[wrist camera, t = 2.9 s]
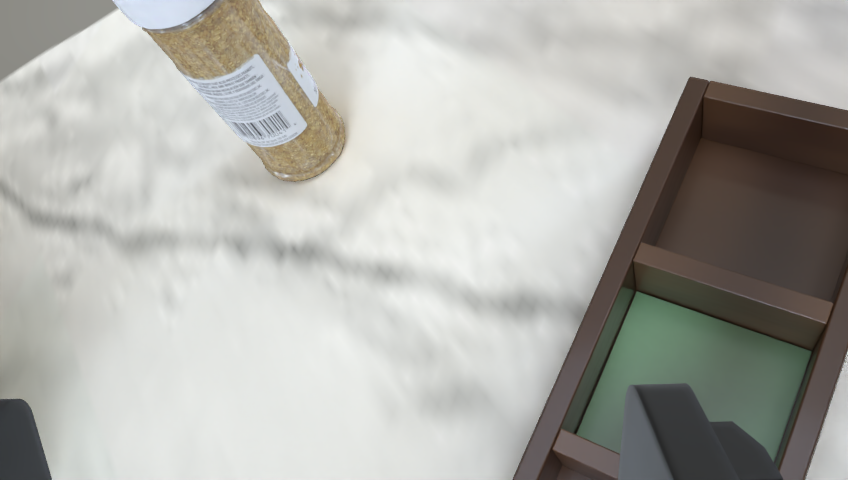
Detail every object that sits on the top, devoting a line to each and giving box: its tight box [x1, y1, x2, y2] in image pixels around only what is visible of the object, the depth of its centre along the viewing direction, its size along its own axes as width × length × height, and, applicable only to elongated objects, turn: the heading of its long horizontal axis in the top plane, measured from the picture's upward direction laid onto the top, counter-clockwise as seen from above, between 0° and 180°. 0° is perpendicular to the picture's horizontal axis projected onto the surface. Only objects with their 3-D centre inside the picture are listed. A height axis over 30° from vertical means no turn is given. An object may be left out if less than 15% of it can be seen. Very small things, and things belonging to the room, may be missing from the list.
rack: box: [512, 77, 848, 480], centre depth 27 cm, size 8×23×4 cm, turn 153°
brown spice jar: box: [112, 0, 345, 181], centre depth 33 cm, size 5×5×14 cm
